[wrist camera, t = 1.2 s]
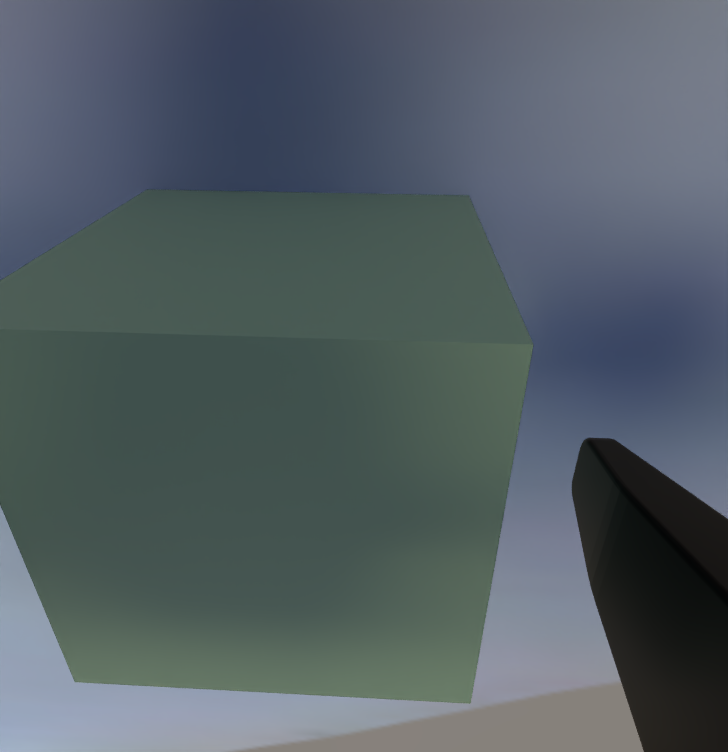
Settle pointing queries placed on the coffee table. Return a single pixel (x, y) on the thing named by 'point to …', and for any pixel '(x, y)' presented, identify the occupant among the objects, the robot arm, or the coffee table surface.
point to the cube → (264, 440)
